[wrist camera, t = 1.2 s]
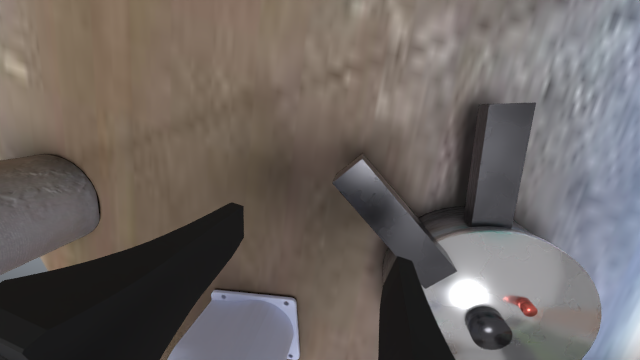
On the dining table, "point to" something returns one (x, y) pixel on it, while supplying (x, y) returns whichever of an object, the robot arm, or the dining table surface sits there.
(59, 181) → the pillar candle
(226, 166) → the dining table surface
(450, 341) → the lid
